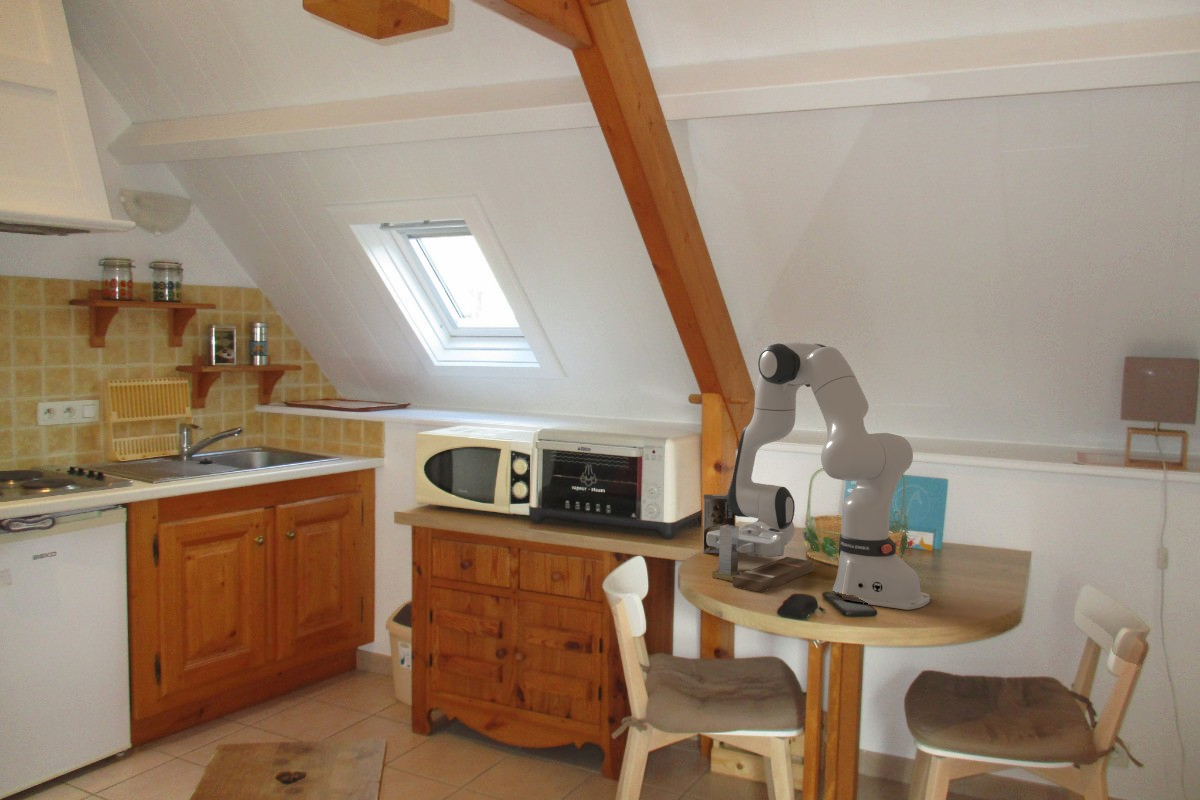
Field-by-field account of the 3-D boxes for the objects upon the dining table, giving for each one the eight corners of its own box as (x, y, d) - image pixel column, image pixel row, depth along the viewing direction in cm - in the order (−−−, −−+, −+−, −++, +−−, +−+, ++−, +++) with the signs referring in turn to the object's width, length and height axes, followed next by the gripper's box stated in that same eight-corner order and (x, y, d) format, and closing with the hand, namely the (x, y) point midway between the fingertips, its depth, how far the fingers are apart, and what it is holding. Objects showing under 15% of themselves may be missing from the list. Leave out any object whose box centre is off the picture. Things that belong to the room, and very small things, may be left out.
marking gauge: (743, 579, 239) (745, 527, 238) (735, 582, 236) (737, 529, 235) (720, 574, 243) (721, 523, 242) (712, 577, 240) (713, 525, 239)
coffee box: (733, 549, 272) (735, 494, 271) (734, 554, 266) (736, 498, 264) (702, 548, 273) (703, 493, 272) (702, 553, 266) (703, 497, 265)
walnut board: (813, 570, 248) (813, 561, 248) (761, 592, 226) (761, 581, 226) (786, 565, 253) (786, 556, 253) (732, 586, 232) (732, 575, 231)
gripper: (722, 522, 255) (694, 529, 245) (789, 532, 243) (763, 541, 232) (721, 544, 256) (693, 553, 245) (788, 556, 243) (762, 566, 232)
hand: (728, 547), depth 238 cm, fingers open, 5 cm apart
